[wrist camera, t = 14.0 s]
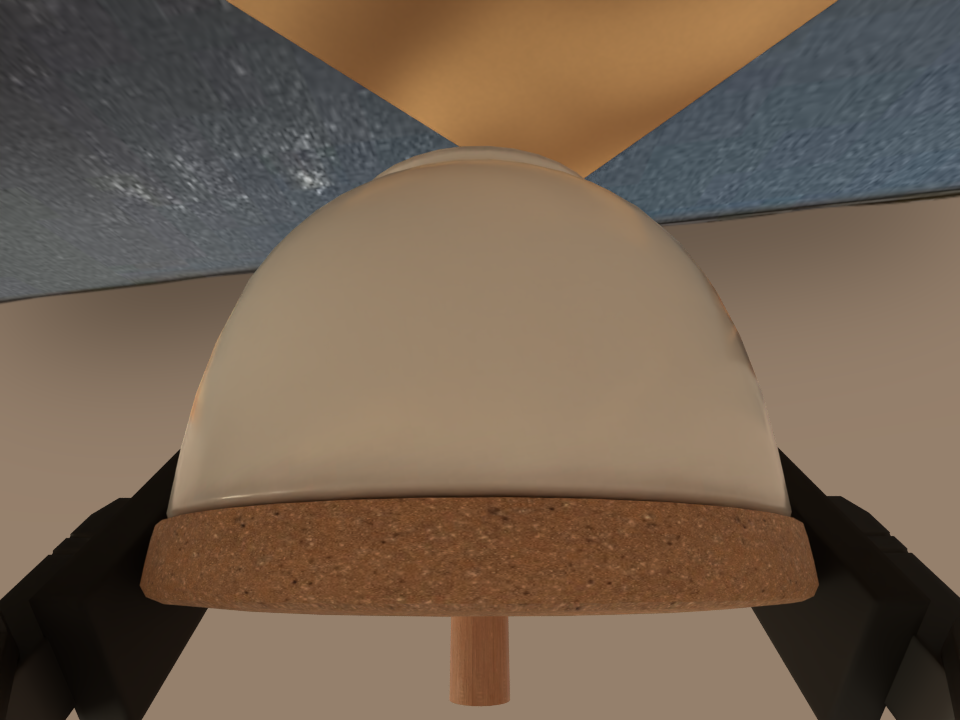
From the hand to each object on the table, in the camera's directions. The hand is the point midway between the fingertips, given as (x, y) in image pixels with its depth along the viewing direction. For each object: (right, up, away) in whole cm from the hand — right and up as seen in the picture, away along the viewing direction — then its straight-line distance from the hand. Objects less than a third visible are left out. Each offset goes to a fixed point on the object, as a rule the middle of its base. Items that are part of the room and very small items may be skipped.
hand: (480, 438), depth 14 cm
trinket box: (0, +5, -1) cm, 5 cm away
